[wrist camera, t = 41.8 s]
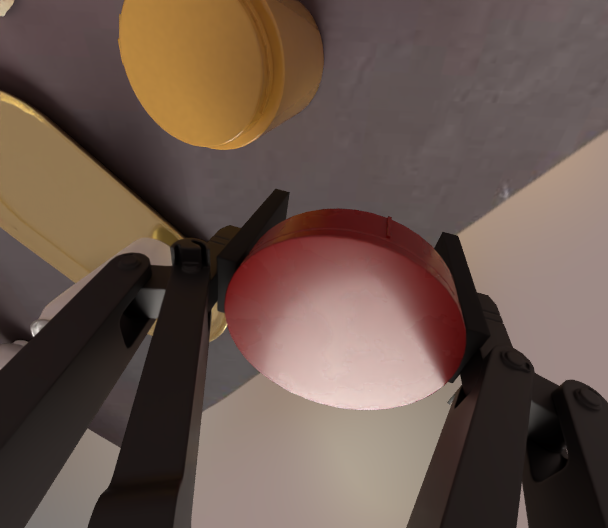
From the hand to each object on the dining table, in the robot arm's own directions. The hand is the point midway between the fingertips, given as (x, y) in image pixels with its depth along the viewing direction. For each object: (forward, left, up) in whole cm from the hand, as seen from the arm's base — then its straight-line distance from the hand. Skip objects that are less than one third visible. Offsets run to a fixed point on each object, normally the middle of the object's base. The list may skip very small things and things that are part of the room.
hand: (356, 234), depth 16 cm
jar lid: (0, 0, +7) cm, 7 cm away
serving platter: (+27, +14, -10) cm, 32 cm away
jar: (+9, -6, -10) cm, 15 cm away
